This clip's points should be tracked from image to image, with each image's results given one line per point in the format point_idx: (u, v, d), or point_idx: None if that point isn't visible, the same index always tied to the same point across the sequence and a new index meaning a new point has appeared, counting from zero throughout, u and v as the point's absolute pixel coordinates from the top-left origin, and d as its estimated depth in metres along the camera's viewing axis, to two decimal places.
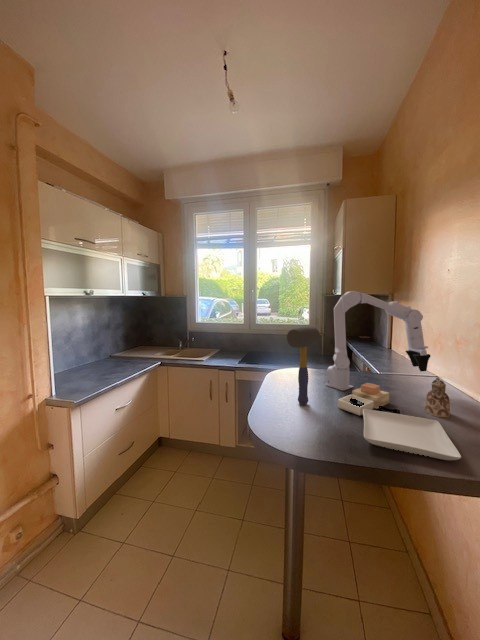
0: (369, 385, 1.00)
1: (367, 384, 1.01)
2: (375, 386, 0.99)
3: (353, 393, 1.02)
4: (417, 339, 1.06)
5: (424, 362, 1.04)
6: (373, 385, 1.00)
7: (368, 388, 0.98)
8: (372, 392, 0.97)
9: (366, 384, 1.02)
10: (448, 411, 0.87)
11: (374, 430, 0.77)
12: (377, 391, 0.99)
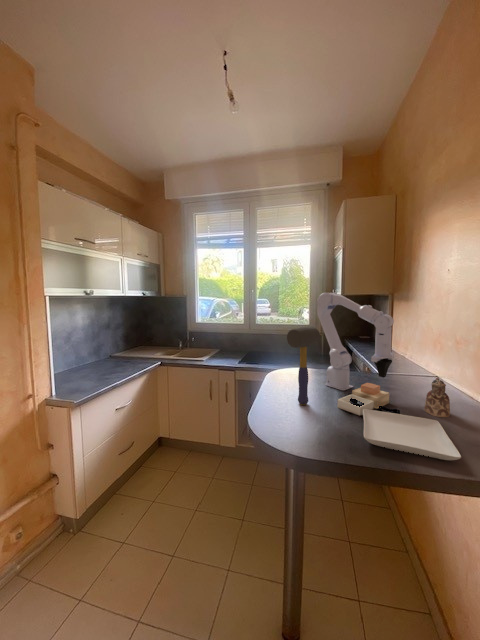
0: (369, 385, 1.00)
1: (367, 384, 1.01)
2: (375, 386, 0.99)
3: (353, 393, 1.02)
4: (379, 346, 1.03)
5: (383, 368, 1.04)
6: (373, 385, 1.00)
7: (368, 388, 0.98)
8: (372, 392, 0.97)
9: (366, 384, 1.02)
10: (448, 411, 0.87)
11: (374, 430, 0.77)
12: (377, 391, 0.99)
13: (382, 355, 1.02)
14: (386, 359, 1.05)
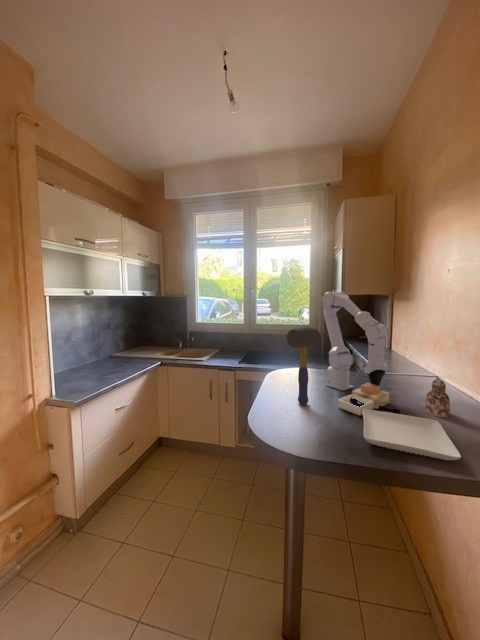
0: (369, 385, 1.00)
1: (367, 384, 1.01)
2: (375, 386, 0.99)
3: (353, 393, 1.02)
4: (372, 356, 1.00)
5: (376, 379, 1.01)
6: (373, 385, 1.00)
7: (368, 388, 0.98)
8: (372, 392, 0.97)
9: (366, 384, 1.01)
10: (448, 411, 0.87)
11: (374, 430, 0.77)
12: (377, 391, 0.99)
13: (375, 366, 0.99)
14: (379, 370, 1.02)
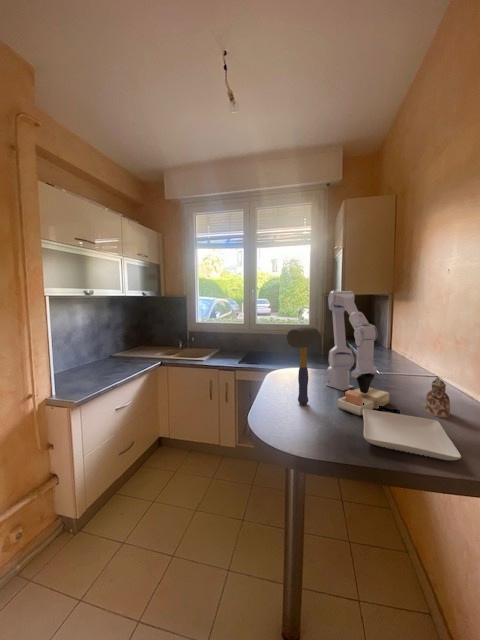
0: (351, 401, 0.94)
1: (348, 399, 0.95)
2: (356, 401, 0.92)
3: None
4: (360, 359, 0.95)
5: (364, 384, 0.96)
6: (353, 399, 0.93)
7: None
8: None
9: (348, 399, 0.95)
10: (448, 411, 0.87)
11: (374, 430, 0.77)
12: (360, 399, 0.93)
13: (363, 370, 0.94)
14: (368, 374, 0.97)
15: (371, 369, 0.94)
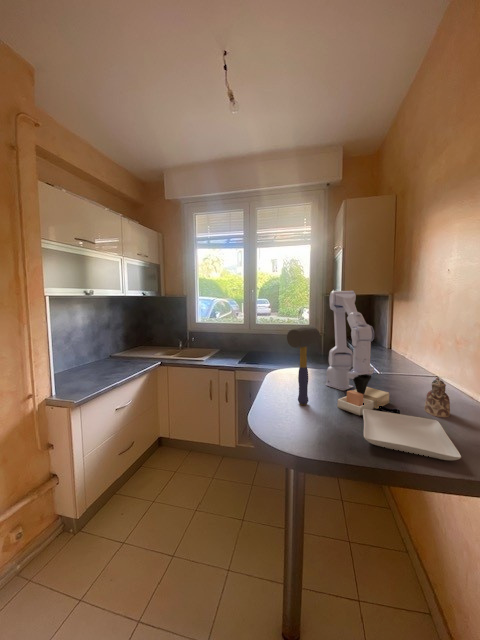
0: (352, 400, 0.94)
1: (349, 398, 0.95)
2: (357, 400, 0.93)
3: None
4: (357, 360, 0.94)
5: (361, 385, 0.95)
6: (354, 398, 0.94)
7: None
8: None
9: (348, 399, 0.95)
10: (448, 411, 0.87)
11: (374, 430, 0.77)
12: (362, 400, 0.93)
13: (360, 371, 0.93)
14: (365, 375, 0.96)
15: (368, 370, 0.93)
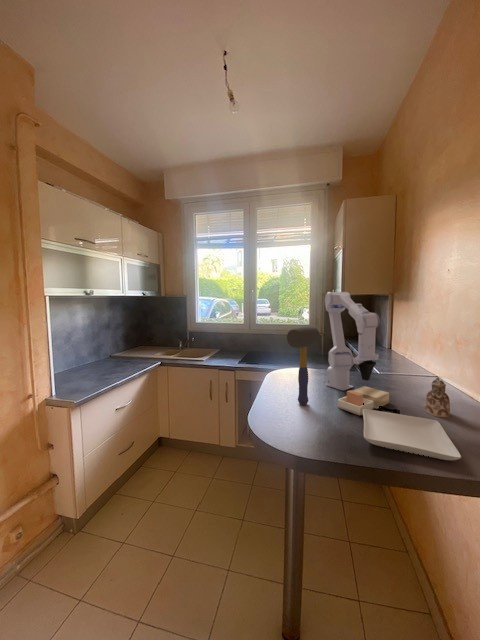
0: (352, 400, 0.94)
1: (349, 398, 0.95)
2: (357, 400, 0.93)
3: None
4: (362, 347, 0.96)
5: (366, 371, 0.97)
6: (354, 398, 0.94)
7: None
8: None
9: (348, 399, 0.95)
10: (448, 411, 0.87)
11: (374, 430, 0.77)
12: (362, 400, 0.93)
13: (365, 357, 0.95)
14: (370, 361, 0.98)
15: (373, 356, 0.95)
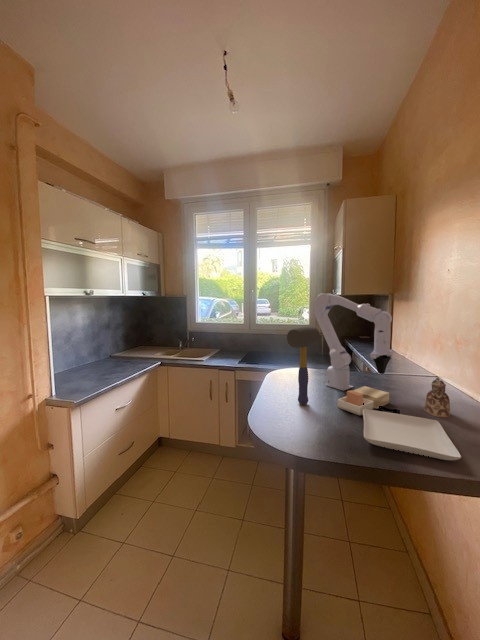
0: (352, 400, 0.94)
1: (349, 398, 0.95)
2: (357, 400, 0.93)
3: None
4: (378, 342, 1.04)
5: (382, 365, 1.05)
6: (354, 398, 0.94)
7: None
8: None
9: (348, 399, 0.95)
10: (448, 411, 0.87)
11: (374, 430, 0.77)
12: (362, 400, 0.93)
13: (381, 352, 1.03)
14: (385, 356, 1.06)
15: (388, 351, 1.03)
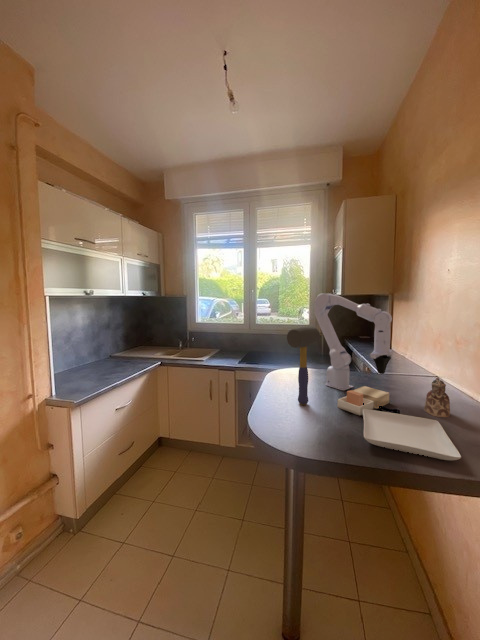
0: (352, 400, 0.94)
1: (349, 398, 0.95)
2: (357, 400, 0.93)
3: None
4: (378, 342, 1.04)
5: (382, 365, 1.05)
6: (354, 398, 0.94)
7: None
8: None
9: (348, 399, 0.95)
10: (448, 411, 0.87)
11: (374, 430, 0.77)
12: (362, 400, 0.93)
13: (381, 352, 1.03)
14: (385, 356, 1.06)
15: (388, 351, 1.03)
